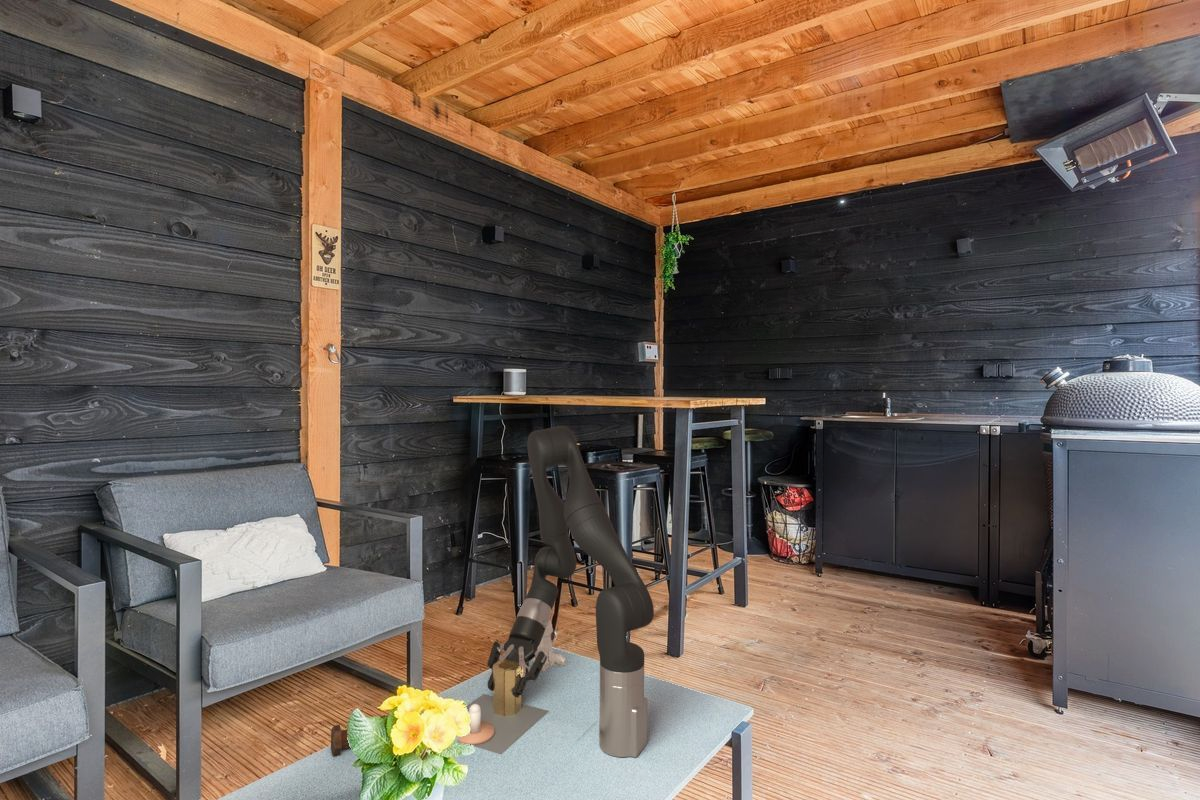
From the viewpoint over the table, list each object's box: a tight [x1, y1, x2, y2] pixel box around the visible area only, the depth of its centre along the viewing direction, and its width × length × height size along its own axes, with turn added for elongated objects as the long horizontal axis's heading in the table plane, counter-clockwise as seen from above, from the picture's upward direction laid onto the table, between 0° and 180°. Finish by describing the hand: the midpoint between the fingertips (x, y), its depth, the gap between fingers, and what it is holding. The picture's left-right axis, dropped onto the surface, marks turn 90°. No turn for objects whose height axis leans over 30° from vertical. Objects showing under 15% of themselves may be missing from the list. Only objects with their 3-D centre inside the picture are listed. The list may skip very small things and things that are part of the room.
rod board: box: [457, 693, 550, 755], centre depth 140 cm, size 18×20×8 cm
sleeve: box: [492, 659, 522, 716], centre depth 146 cm, size 6×6×10 cm
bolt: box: [330, 724, 350, 758], centre depth 134 cm, size 6×5×15 cm
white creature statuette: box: [531, 620, 568, 673], centre depth 172 cm, size 10×9×12 cm
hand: (503, 692), depth 144 cm, fingers closed on sleeve, 6 cm apart
